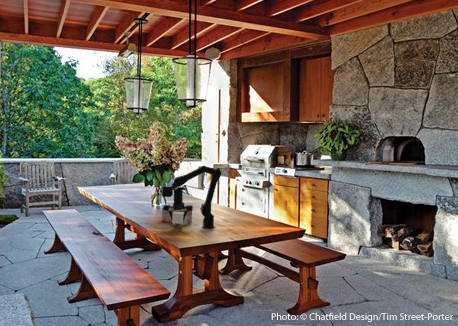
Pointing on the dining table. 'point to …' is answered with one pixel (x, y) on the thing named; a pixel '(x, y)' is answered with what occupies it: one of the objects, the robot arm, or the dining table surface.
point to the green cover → (183, 221)
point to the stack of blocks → (167, 216)
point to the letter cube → (177, 226)
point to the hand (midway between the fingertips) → (178, 220)
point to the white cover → (178, 217)
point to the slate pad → (164, 227)
